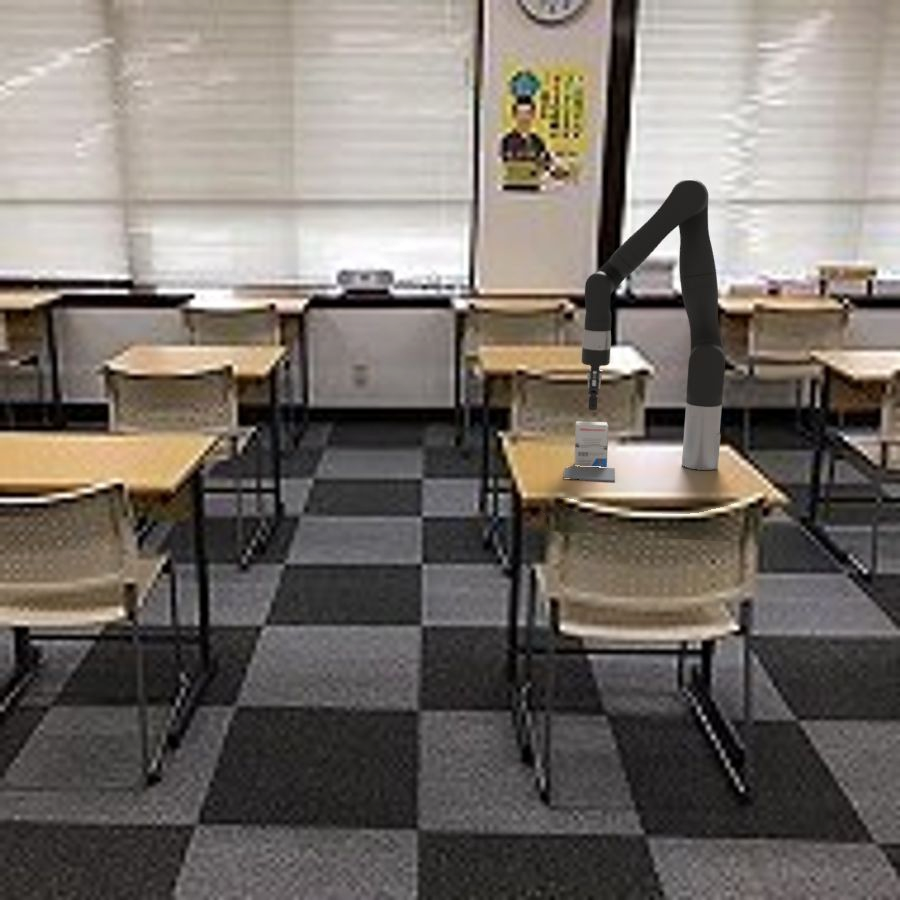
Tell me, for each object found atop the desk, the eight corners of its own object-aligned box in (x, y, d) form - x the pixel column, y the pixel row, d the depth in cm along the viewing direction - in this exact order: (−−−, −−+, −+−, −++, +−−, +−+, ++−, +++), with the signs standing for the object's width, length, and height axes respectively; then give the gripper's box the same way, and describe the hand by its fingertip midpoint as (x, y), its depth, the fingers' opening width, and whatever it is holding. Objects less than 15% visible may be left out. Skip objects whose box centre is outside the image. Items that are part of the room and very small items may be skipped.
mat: (614, 470, 276) (614, 468, 276) (614, 482, 265) (614, 480, 265) (565, 467, 278) (565, 465, 278) (563, 479, 267) (563, 477, 267)
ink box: (605, 463, 282) (608, 421, 279) (606, 468, 278) (609, 425, 275) (573, 462, 283) (575, 420, 280) (574, 467, 278) (576, 424, 275)
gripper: (610, 351, 274) (606, 415, 279) (610, 343, 287) (606, 405, 291) (581, 349, 275) (578, 413, 280) (583, 342, 288) (579, 403, 293)
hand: (592, 409), depth 286 cm, fingers closed
